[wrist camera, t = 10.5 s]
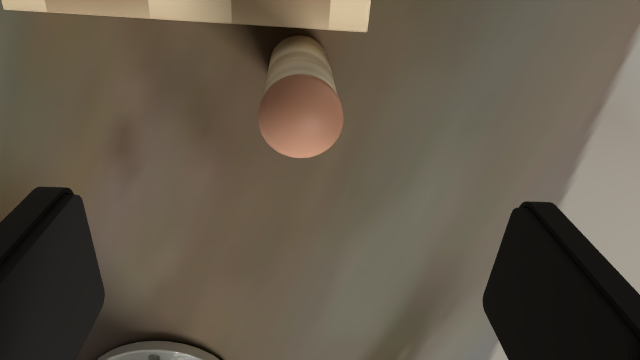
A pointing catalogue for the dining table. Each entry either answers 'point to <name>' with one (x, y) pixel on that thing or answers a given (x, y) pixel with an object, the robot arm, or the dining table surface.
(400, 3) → the dining table surface
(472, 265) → the dining table surface
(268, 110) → the peg
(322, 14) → the peg board
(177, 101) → the dining table surface
